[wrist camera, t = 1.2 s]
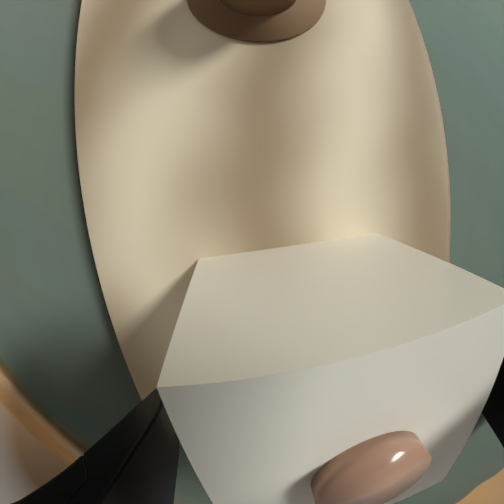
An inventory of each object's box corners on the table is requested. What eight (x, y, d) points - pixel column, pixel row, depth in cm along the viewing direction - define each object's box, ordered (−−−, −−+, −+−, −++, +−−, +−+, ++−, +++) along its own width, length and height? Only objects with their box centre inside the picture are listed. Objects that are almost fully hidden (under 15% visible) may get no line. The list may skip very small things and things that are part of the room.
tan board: (368, -57, 7) (401, -99, 3) (421, 369, 13) (465, 418, 9) (99, -43, 7) (70, -91, 2) (160, 419, 12) (146, 489, 8)
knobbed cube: (378, 233, 10) (540, 307, 3) (371, 374, 12) (450, 491, 5) (198, 258, 10) (148, 418, 3) (229, 403, 11) (237, 555, 4)
